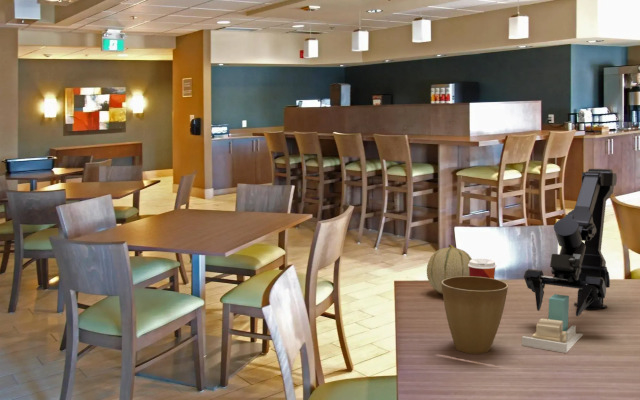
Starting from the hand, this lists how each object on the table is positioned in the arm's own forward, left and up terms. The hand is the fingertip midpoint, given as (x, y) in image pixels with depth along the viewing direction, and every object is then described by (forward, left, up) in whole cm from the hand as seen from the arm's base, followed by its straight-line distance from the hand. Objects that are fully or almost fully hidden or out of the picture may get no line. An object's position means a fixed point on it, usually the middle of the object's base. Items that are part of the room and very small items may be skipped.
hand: (557, 312), depth 168 cm
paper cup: (+1, -29, -7) cm, 30 cm away
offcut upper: (+5, +3, -3) cm, 7 cm away
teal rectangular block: (-1, -1, -6) cm, 6 cm away
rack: (+2, +1, -7) cm, 7 cm away
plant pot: (+23, -2, -7) cm, 24 cm away
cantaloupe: (-1, -47, -7) cm, 47 cm away
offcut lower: (+5, +3, -6) cm, 9 cm away
